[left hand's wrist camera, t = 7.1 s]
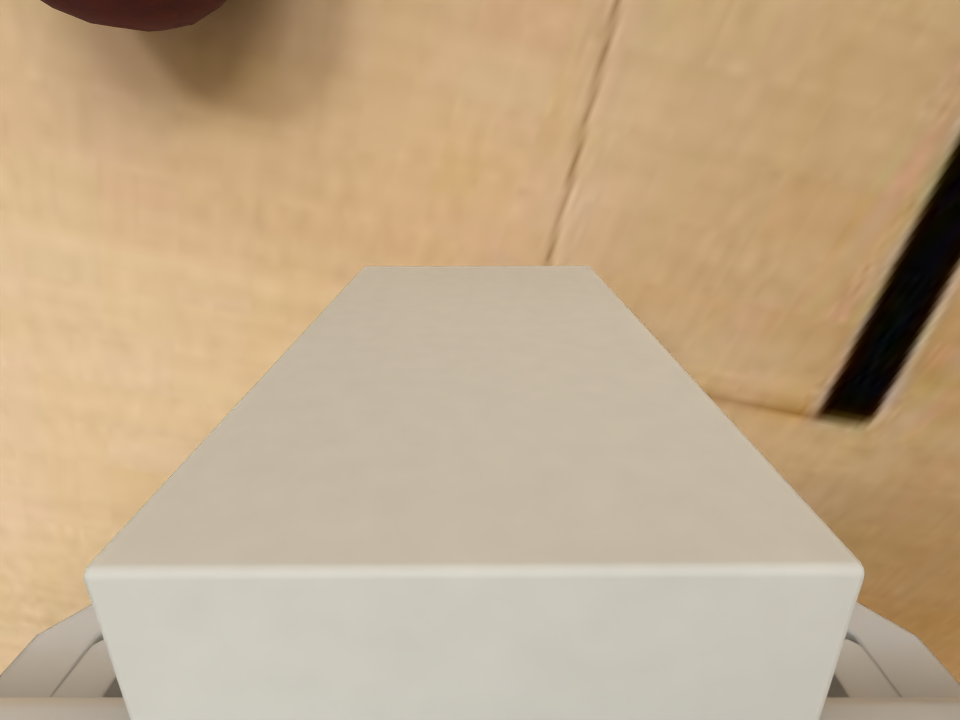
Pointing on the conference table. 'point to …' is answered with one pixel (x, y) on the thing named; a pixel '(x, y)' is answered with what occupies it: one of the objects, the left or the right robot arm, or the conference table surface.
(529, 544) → the box
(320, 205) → the conference table surface
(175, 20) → the dark red ball
